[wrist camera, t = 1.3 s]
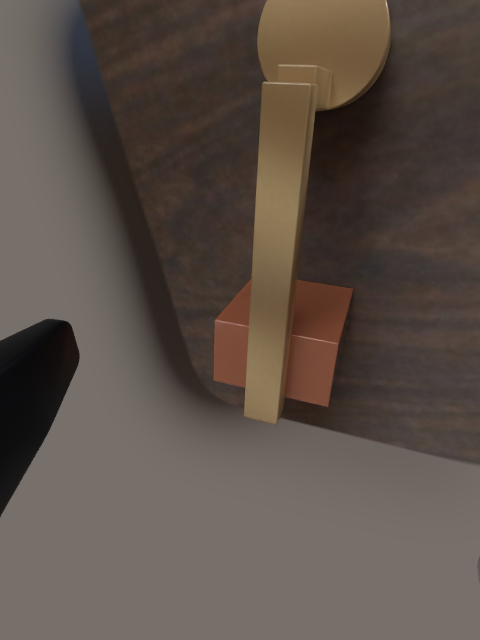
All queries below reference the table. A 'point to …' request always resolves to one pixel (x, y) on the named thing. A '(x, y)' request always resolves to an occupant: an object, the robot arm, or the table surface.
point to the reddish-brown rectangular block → (306, 340)
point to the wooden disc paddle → (297, 158)
